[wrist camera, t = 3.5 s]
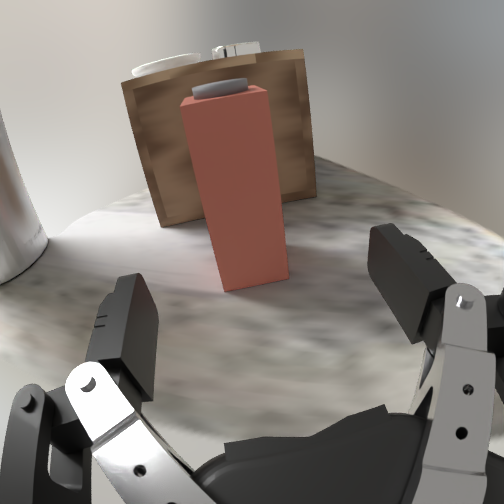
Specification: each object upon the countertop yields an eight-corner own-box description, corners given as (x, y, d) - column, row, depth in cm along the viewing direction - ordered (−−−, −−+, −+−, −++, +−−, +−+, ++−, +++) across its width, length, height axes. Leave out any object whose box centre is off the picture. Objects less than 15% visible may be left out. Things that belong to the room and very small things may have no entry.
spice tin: (224, 291, 19) (177, 94, 13) (220, 254, 22) (182, 88, 16) (289, 278, 19) (265, 78, 13) (275, 243, 23) (252, 75, 16)
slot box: (161, 227, 27) (120, 82, 20) (173, 173, 39) (150, 75, 31) (316, 196, 28) (303, 48, 20) (281, 152, 39) (268, 53, 32)
